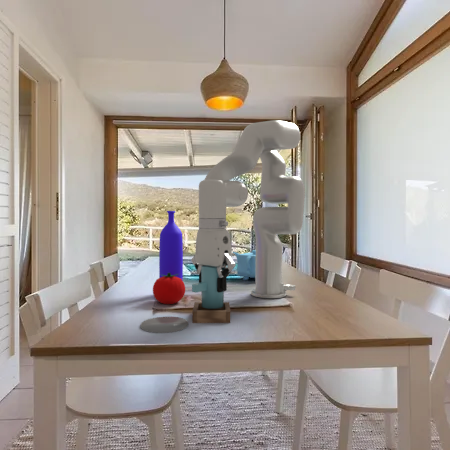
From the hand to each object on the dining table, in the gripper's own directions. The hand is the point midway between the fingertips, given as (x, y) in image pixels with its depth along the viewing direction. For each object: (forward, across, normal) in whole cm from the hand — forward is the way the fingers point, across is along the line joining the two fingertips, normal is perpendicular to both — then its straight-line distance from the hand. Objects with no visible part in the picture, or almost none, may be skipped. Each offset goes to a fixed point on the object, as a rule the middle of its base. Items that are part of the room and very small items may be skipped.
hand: (212, 289), depth 102 cm
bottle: (+9, +31, -12) cm, 34 cm away
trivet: (+8, +4, +14) cm, 17 cm away
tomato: (+9, +22, -3) cm, 24 cm away
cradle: (+8, 0, 0) cm, 8 cm away
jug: (+5, 0, +2) cm, 5 cm away
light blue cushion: (+9, +30, -57) cm, 65 cm away
